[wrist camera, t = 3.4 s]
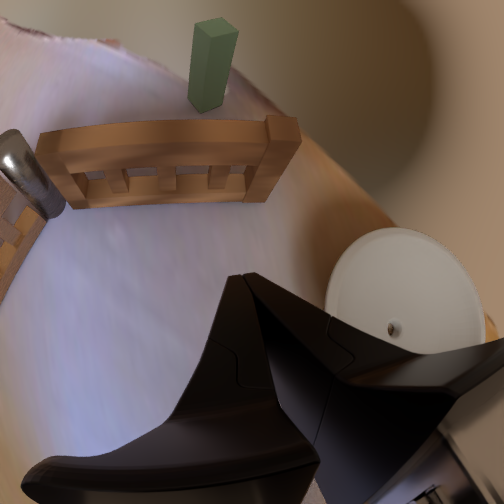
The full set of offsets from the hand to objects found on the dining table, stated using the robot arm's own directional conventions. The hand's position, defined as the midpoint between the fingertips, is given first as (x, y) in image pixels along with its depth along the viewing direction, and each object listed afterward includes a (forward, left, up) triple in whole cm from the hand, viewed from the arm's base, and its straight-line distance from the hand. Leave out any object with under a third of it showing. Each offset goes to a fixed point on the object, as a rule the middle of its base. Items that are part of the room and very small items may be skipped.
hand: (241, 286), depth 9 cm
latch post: (+10, -16, -13) cm, 23 cm away
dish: (-14, -6, -13) cm, 20 cm away
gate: (+7, -6, -12) cm, 16 cm away
